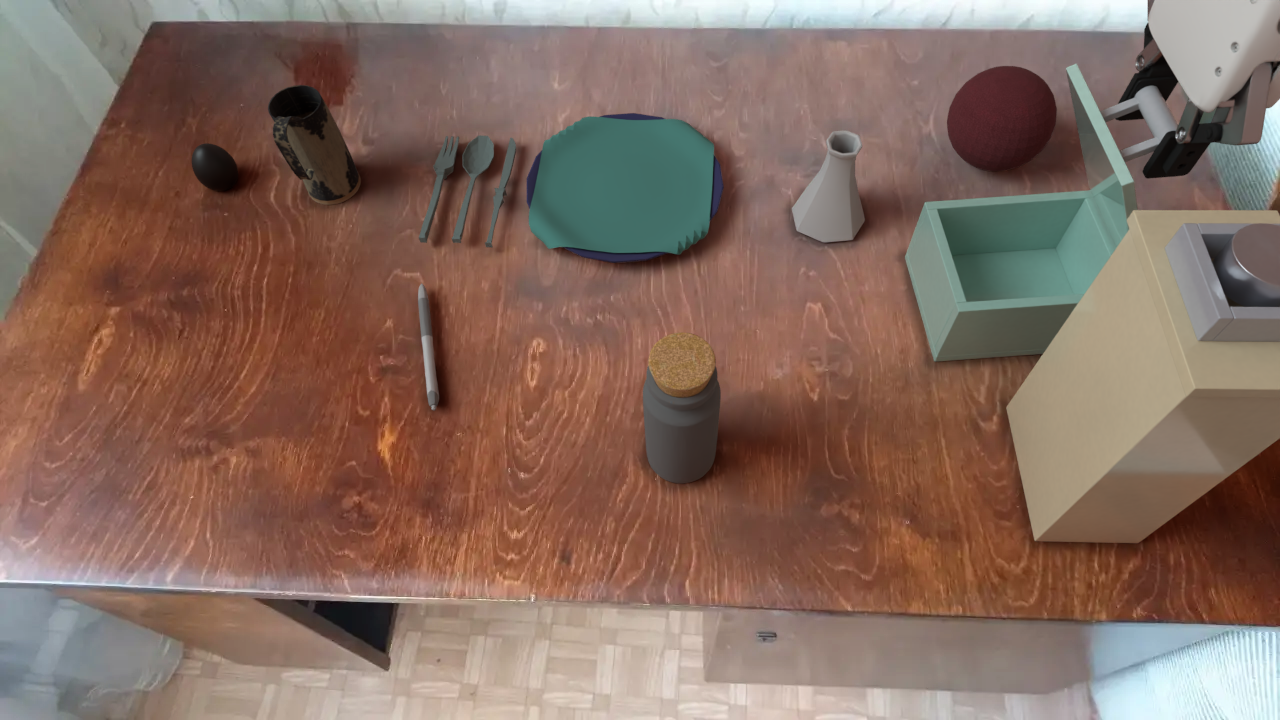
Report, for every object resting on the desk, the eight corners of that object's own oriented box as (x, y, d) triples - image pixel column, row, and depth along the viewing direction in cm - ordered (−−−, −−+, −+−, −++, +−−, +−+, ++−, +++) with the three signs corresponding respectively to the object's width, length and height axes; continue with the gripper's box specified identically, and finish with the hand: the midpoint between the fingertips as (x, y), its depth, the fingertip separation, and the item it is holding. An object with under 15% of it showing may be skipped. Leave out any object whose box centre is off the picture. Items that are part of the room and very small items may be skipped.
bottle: (647, 420, 75) (641, 324, 62) (715, 422, 74) (723, 325, 61) (645, 483, 72) (638, 395, 59) (715, 485, 71) (724, 397, 58)
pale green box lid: (1121, 185, 58) (1205, 155, 56) (1065, 67, 64) (1138, 36, 62) (1137, 297, 70) (1207, 275, 68) (1089, 187, 76) (1151, 165, 74)
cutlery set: (718, 278, 82) (719, 263, 80) (411, 263, 84) (405, 248, 82) (726, 129, 92) (727, 113, 91) (452, 119, 95) (447, 102, 93)
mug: (314, 164, 92) (269, 73, 82) (365, 164, 92) (326, 73, 81) (297, 221, 88) (247, 133, 78) (350, 221, 88) (307, 133, 77)
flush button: (1279, 248, 49) (1303, 222, 47) (1308, 311, 47) (1334, 287, 45) (1200, 247, 50) (1221, 222, 48) (1224, 311, 47) (1247, 287, 45)
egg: (201, 198, 90) (177, 163, 86) (207, 169, 92) (184, 134, 88) (240, 194, 90) (218, 159, 86) (246, 165, 92) (225, 130, 88)
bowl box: (933, 362, 77) (958, 311, 70) (904, 257, 83) (924, 201, 76) (1099, 350, 77) (1140, 298, 70) (1057, 246, 83) (1091, 189, 76)
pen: (430, 416, 76) (426, 408, 74) (418, 290, 83) (415, 281, 82) (442, 413, 76) (438, 406, 74) (429, 288, 83) (425, 279, 82)
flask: (785, 238, 85) (798, 165, 76) (796, 184, 88) (809, 108, 80) (860, 250, 83) (881, 178, 75) (868, 195, 87) (889, 120, 78)
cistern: (1103, 405, 74) (1301, 183, 51) (1143, 547, 67) (1391, 368, 44) (1001, 403, 74) (1150, 183, 51) (1031, 545, 68) (1217, 366, 44)
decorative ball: (946, 112, 93) (973, 34, 84) (1042, 134, 90) (1080, 56, 82) (926, 177, 88) (953, 101, 79) (1027, 202, 86) (1066, 127, 77)
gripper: (1455, -5, 43) (1250, 230, 59) (1295, -182, 52) (1154, 63, 68) (1307, 6, 43) (1141, 239, 59) (1173, -173, 52) (1059, 70, 68)
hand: (1149, 142), depth 63 cm, fingers closed on pale green box lid, 5 cm apart
